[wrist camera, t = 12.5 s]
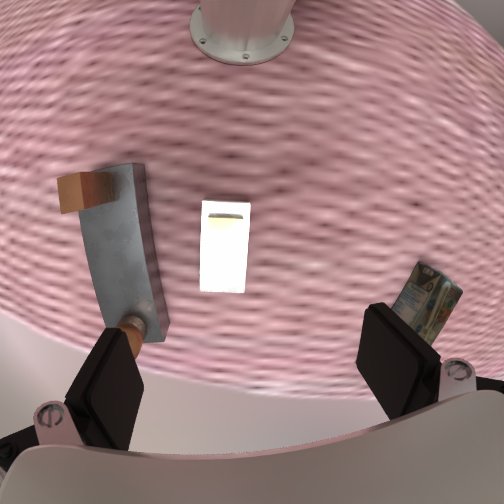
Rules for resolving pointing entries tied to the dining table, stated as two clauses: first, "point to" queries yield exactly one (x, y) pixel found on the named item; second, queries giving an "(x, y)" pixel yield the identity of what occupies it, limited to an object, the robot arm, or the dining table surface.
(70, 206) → the plane body
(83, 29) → the dining table surface
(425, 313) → the beverage carton
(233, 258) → the white box
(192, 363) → the dining table surface
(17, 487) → the robot arm
